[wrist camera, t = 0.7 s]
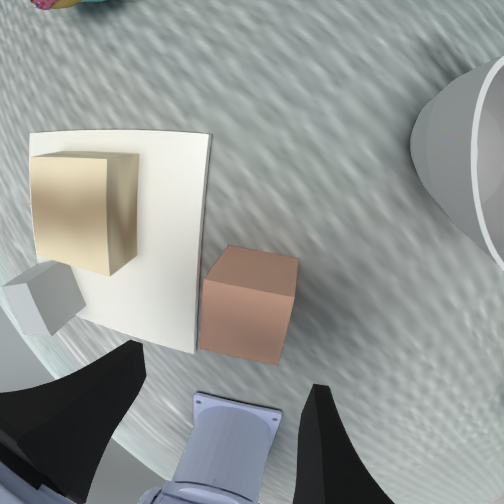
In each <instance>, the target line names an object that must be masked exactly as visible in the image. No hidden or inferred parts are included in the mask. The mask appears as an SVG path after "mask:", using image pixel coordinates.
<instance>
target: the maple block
mask: <svg viewBox="0 0 504 504" xmlns="http://www.w3.org/2000/svg"><path fill="white" fill-rule="evenodd" d="M138 168H139V153H122V152H98V151H59V152H54V153H48V154H43V155H38V156H33V157H30V187H31V204H32V217H33V227H34V236H35V243H36V251H37V255H39V256H42V257H45V258H48V259H51V260H55V261H58V262H61V263H64V264H68V265H71V266H74V267H78V268H81V269H84V270H88V271H91V272H95V273H98V274H102V275H105V276H109V277H110V276H112V275H113V274H114V273H115V272H117V271H118V270H119V269H121V268H122V267H123V266H124V265H126V264H127V263H128V262H130V261H131V260H132V259H133V258H135V257H136V256H137V192H138Z"/></svg>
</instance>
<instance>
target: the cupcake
mask: <svg viewBox="0 0 504 504" xmlns="http://www.w3.org/2000/svg"><path fill="white" fill-rule="evenodd" d="M30 1H31V2H32V1H33V2H32V3H33V4H35V5H36V6H37V7H35V8H39V9H42V10H49V9H60V8H69V7H72V6H74V5H75V4H77V3H78V2H86V1H90V2H102V1H106V0H30Z"/></svg>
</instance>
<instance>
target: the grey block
mask: <svg viewBox="0 0 504 504" xmlns="http://www.w3.org/2000/svg"><path fill="white" fill-rule="evenodd" d="M2 289H3V292H4V294H5V296H6V299H7V301H8V303H9V305H10V308H11V310H12V312H13V314H14V316H15V318H16V320H17V322H18V324H19V326H20V328H21V330H22V332H23V334H26V335H37V336H49V337H52V336H53V335H54V334H55V333H56V332H57V331H58V330H59V329H60V328H61V327H62V326H64V325H65V324H66V323H67V322H68V321H69V320H70V319H71V318H72V317H74V316H75V315H76V314H77V313H78V312H79V311H80V310H82V309H83V308H84V307H85V306H86V303H85V301H84V299H83V296H82V294H81V291H80V289H79V287H78V284H77V282H76V279H75V277H74V274H73V272H72V269H71V266H70V265H68V264H64V263H61V262H58V261H55V260H51V261H47V262H42V263H38V264H37V265H35V266H33V267H32V268H30V269H29V270H27V271H25V272H24V273H22V274H21V275H19V276H17V277H16V278H14V279H13V280H11V281H10V282H8V283H7V284H5V285H3V286H2Z"/></svg>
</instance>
